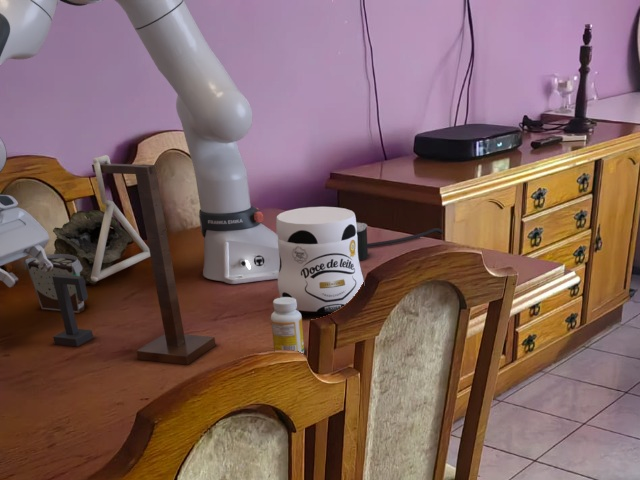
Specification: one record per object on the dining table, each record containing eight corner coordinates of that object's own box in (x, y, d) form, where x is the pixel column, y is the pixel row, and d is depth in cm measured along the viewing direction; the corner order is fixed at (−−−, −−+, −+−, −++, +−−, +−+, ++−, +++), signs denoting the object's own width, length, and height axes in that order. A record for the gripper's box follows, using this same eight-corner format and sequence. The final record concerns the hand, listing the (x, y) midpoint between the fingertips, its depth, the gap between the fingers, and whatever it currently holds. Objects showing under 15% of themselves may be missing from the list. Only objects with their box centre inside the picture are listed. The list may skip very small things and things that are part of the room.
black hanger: (54, 344, 156) (37, 278, 149) (71, 335, 160) (55, 270, 153) (87, 348, 154) (71, 281, 147) (104, 338, 158) (89, 273, 151)
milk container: (332, 326, 161) (325, 229, 151) (262, 312, 169) (251, 219, 159) (381, 302, 173) (378, 210, 163) (314, 290, 181) (307, 202, 171)
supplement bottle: (289, 361, 146) (283, 307, 141) (268, 354, 149) (262, 301, 144) (311, 352, 150) (306, 299, 144) (290, 346, 153) (285, 293, 147)
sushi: (364, 262, 199) (362, 227, 195) (330, 261, 200) (328, 226, 196) (371, 253, 206) (370, 219, 201) (338, 252, 207) (336, 218, 202)
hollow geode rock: (122, 277, 209) (73, 231, 205) (151, 240, 204) (101, 193, 199) (70, 309, 186) (13, 258, 181) (101, 269, 180) (43, 215, 176)
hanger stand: (104, 364, 147) (58, 165, 129) (158, 332, 161) (123, 147, 143) (176, 372, 143) (139, 168, 125) (225, 338, 157) (198, 150, 139)
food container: (103, 304, 176) (93, 255, 170) (85, 313, 171) (73, 263, 166) (55, 299, 179) (43, 251, 174) (35, 308, 175) (22, 259, 169)
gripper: (-66, 218, 140) (-1, 281, 143) (18, 194, 156) (74, 251, 159) (-78, 244, 144) (-15, 305, 146) (5, 217, 160) (61, 273, 162)
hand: (32, 276), depth 153 cm, fingers open, 8 cm apart
